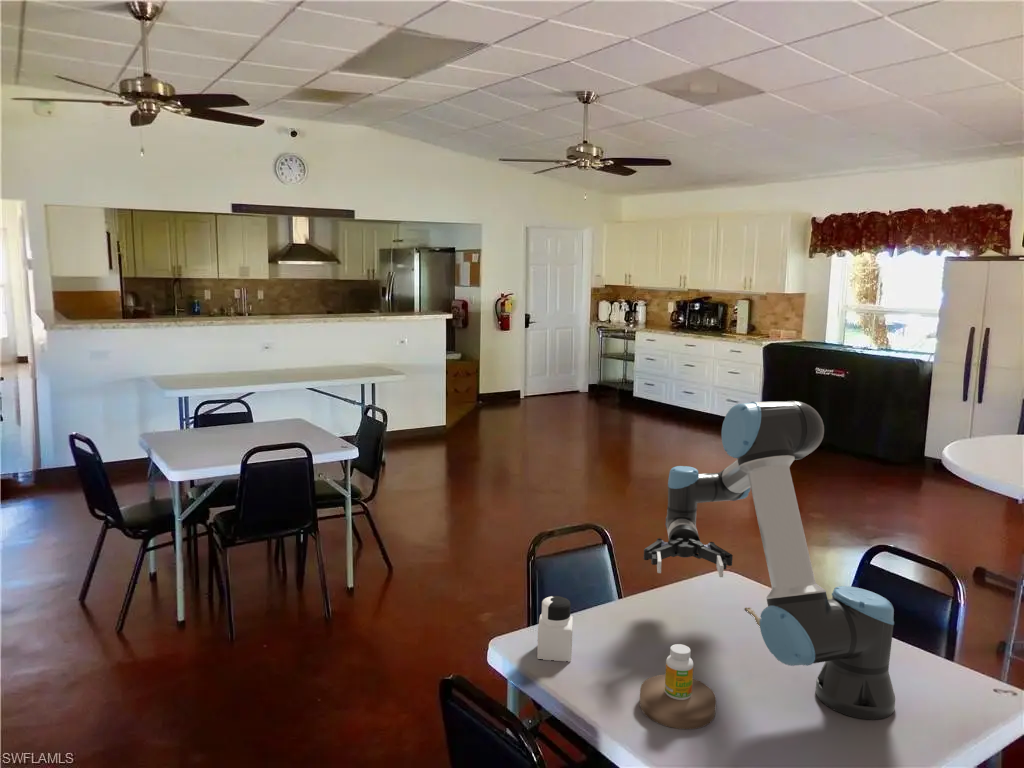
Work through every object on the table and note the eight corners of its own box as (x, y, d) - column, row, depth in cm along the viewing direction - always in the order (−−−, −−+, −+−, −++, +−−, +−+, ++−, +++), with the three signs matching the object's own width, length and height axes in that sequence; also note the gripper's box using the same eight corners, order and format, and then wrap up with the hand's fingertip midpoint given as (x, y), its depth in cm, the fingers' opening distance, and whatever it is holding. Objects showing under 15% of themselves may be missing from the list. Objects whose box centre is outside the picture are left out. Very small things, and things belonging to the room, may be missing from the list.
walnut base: (730, 713, 154) (731, 699, 154) (679, 738, 145) (680, 723, 145) (674, 680, 166) (675, 667, 166) (624, 701, 157) (624, 688, 157)
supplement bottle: (674, 703, 152) (677, 657, 150) (659, 689, 157) (661, 644, 155) (697, 697, 154) (699, 652, 152) (681, 684, 159) (683, 640, 157)
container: (572, 646, 180) (573, 593, 179) (571, 662, 173) (573, 608, 171) (539, 643, 181) (540, 591, 179) (537, 660, 174) (538, 606, 172)
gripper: (734, 556, 191) (747, 589, 170) (632, 549, 194) (633, 581, 174) (735, 526, 190) (748, 556, 169) (633, 520, 193) (634, 549, 173)
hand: (690, 569), depth 171 cm, fingers open, 13 cm apart
